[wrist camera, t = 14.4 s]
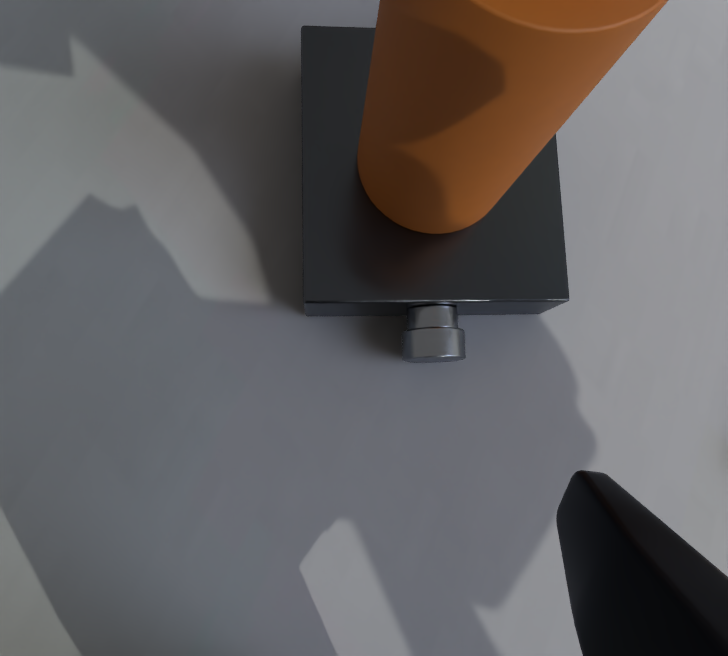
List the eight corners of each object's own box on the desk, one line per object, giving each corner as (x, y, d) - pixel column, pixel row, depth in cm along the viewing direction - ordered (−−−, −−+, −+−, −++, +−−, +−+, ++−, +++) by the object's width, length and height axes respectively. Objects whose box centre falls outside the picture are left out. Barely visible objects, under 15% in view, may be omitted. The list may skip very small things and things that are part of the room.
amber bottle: (535, 182, 19) (938, -247, 7) (416, 263, 18) (622, -52, 6) (447, 66, 19) (673, -542, 7) (327, 141, 19) (343, -396, 6)
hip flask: (302, 69, 22) (300, 24, 19) (522, 75, 23) (548, 33, 20) (305, 365, 20) (303, 358, 17) (543, 361, 21) (574, 354, 18)
